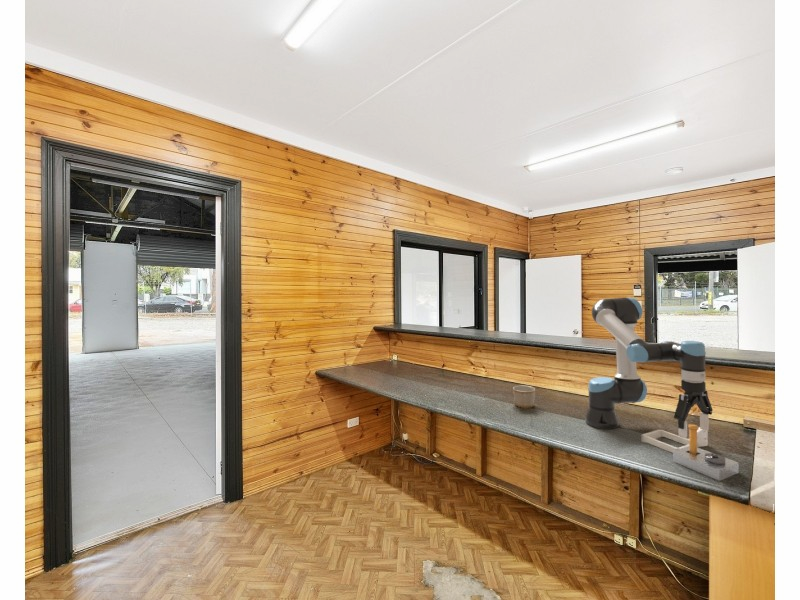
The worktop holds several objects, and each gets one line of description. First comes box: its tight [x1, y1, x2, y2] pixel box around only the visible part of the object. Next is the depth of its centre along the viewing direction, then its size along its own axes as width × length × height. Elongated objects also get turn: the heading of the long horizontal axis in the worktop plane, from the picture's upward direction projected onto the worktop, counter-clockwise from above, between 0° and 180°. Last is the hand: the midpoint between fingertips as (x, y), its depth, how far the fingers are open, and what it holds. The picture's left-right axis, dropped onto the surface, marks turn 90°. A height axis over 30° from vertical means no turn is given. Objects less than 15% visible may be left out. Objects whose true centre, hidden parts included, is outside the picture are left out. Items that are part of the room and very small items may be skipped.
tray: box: [640, 428, 699, 454], centre depth 163 cm, size 16×13×4 cm
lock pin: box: [687, 423, 699, 456], centre depth 147 cm, size 3×3×15 cm
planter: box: [512, 384, 536, 409], centre depth 222 cm, size 13×13×10 cm
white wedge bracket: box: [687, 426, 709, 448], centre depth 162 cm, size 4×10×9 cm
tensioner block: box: [672, 446, 740, 482], centre depth 144 cm, size 16×12×8 cm
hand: (693, 432), depth 147 cm, fingers open, 13 cm apart
